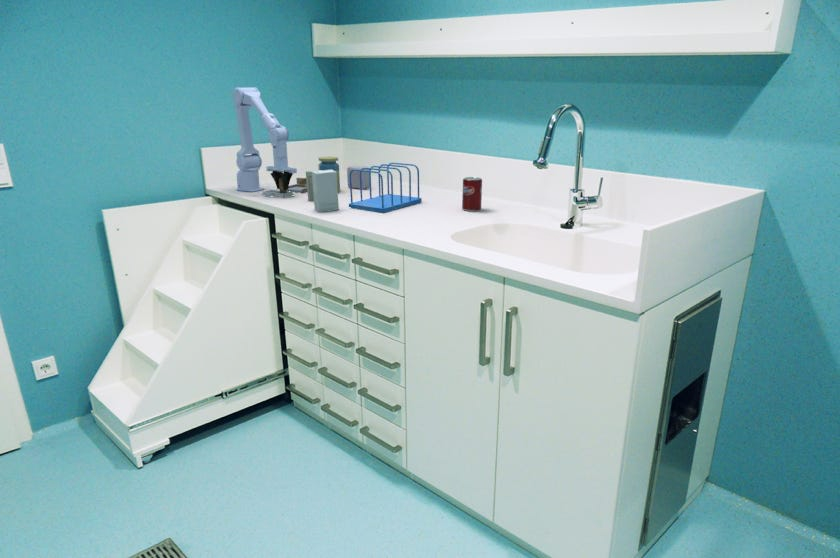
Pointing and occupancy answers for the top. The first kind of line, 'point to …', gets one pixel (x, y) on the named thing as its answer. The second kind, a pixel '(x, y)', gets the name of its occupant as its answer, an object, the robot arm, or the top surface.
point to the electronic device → (358, 177)
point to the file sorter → (388, 200)
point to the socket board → (277, 193)
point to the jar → (330, 166)
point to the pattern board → (297, 188)
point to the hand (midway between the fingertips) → (282, 189)
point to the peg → (281, 186)
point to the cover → (301, 181)
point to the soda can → (472, 194)
